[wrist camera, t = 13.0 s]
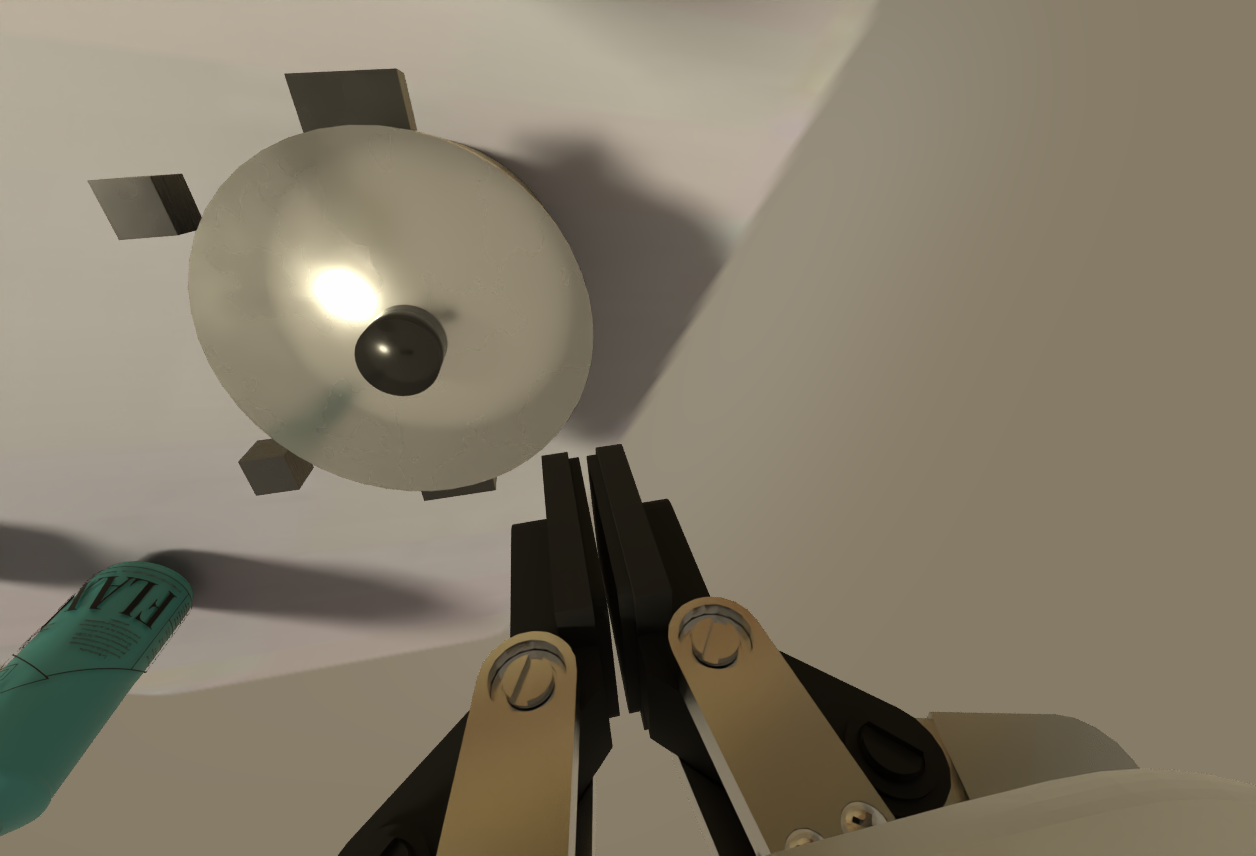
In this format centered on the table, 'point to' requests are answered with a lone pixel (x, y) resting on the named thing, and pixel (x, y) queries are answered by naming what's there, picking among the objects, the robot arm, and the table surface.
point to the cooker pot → (173, 211)
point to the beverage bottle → (79, 678)
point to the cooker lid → (391, 307)
